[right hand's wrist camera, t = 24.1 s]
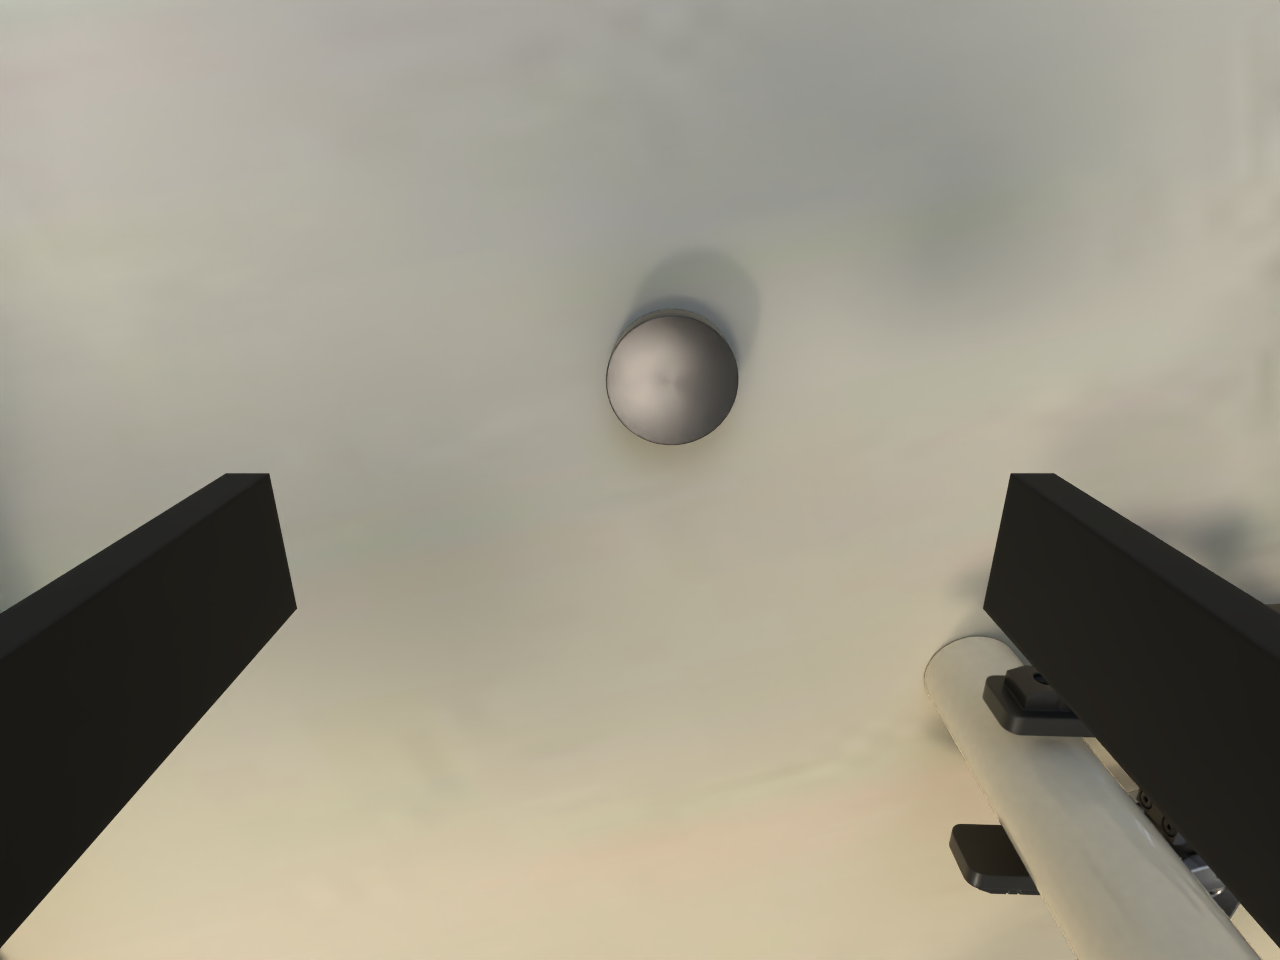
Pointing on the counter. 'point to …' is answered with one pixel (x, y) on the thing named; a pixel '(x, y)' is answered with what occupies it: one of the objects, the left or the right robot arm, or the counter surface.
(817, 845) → the counter surface
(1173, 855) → the bottle
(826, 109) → the counter surface
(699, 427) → the lid
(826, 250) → the counter surface
